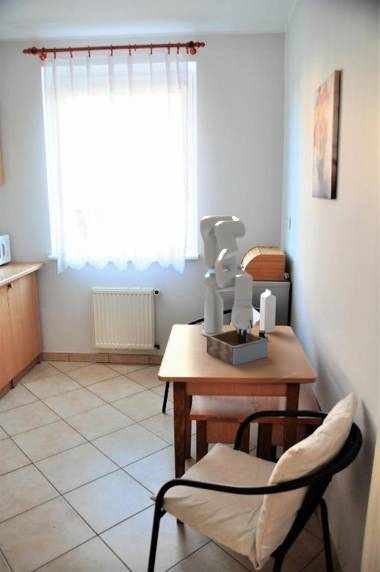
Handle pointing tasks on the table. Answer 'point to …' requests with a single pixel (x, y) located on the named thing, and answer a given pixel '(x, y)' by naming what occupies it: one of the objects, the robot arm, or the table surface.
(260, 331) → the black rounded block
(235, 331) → the crate
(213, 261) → the robot arm
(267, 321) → the milk
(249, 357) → the panel
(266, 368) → the table surface
